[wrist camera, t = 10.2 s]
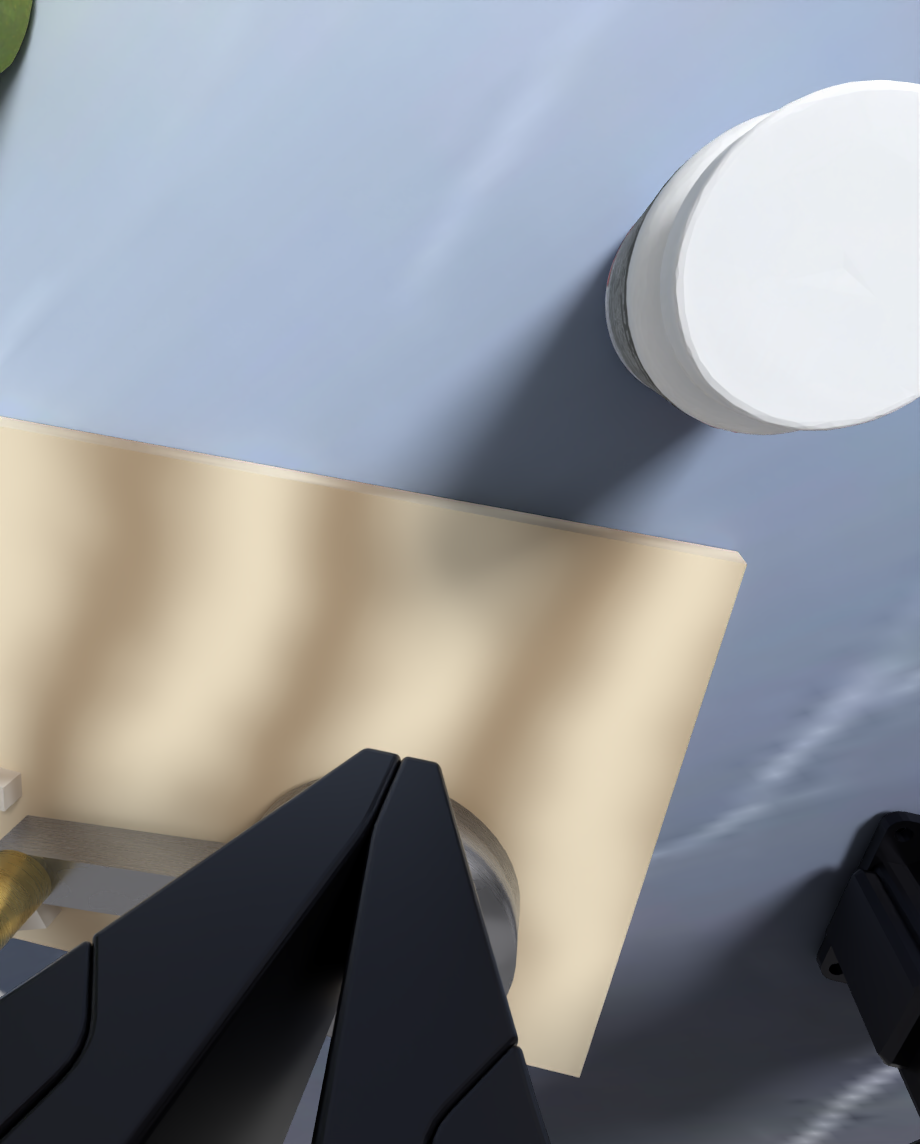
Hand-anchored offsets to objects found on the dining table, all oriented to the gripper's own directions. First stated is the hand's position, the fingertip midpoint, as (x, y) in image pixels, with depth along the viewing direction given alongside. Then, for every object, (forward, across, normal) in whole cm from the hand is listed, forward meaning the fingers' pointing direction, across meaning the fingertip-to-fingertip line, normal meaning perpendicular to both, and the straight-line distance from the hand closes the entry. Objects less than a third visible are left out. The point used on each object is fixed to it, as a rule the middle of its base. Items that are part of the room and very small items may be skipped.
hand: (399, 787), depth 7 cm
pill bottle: (+12, -4, -6) cm, 14 cm away
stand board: (+12, +5, +10) cm, 16 cm away
